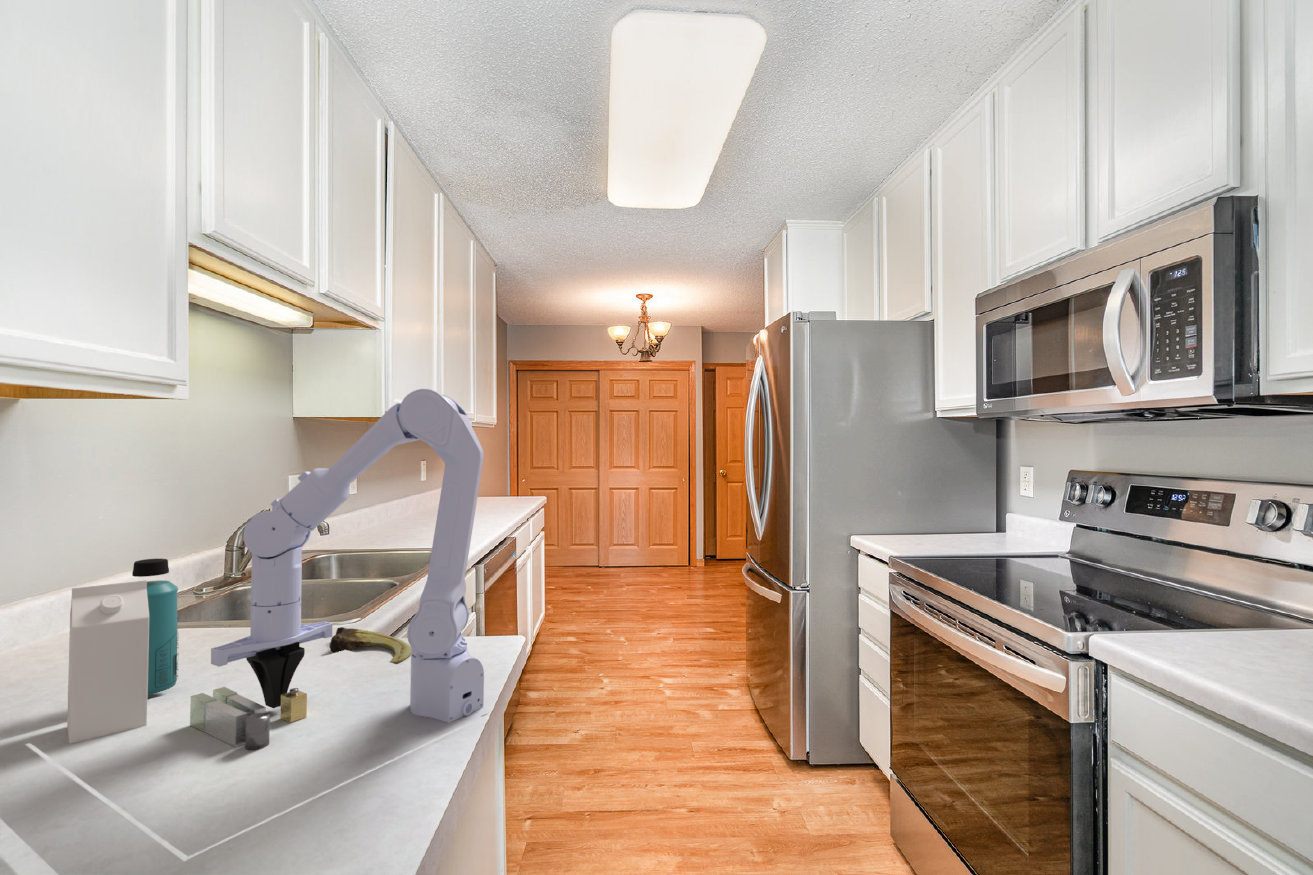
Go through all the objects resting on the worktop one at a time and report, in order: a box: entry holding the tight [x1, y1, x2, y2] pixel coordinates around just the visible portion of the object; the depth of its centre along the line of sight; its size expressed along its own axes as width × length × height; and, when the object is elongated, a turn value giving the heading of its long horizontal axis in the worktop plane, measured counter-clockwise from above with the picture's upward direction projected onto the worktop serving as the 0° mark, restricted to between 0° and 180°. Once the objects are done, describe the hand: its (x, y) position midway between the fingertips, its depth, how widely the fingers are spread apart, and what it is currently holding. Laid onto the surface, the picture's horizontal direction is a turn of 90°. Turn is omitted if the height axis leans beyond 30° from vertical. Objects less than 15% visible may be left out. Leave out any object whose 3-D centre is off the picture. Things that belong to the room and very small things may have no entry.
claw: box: [329, 626, 412, 664], centre depth 114 cm, size 20×10×3 cm, turn 66°
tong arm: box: [212, 686, 267, 717], centre depth 78 cm, size 11×1×4 cm, turn 57°
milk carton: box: [66, 579, 149, 744], centre depth 79 cm, size 7×7×19 cm
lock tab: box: [279, 687, 308, 723], centre depth 81 cm, size 2×2×4 cm
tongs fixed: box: [189, 692, 271, 751], centre depth 76 cm, size 14×3×4 cm, turn 59°
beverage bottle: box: [131, 558, 180, 696], centre depth 91 cm, size 6×7×20 cm
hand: (274, 705), depth 83 cm, fingers closed
